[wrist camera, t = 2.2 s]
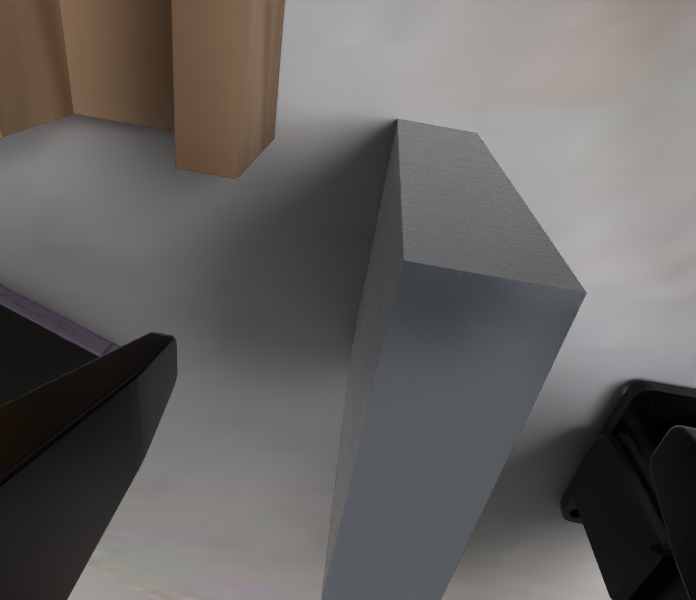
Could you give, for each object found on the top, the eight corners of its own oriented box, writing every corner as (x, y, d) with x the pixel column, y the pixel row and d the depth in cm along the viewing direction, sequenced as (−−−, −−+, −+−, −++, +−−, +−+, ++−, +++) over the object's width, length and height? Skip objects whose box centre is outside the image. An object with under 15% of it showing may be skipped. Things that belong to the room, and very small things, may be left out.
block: (476, 133, 12) (586, 293, 5) (413, 355, 16) (429, 622, 9) (397, 119, 12) (404, 260, 5) (352, 344, 16) (320, 604, 9)
